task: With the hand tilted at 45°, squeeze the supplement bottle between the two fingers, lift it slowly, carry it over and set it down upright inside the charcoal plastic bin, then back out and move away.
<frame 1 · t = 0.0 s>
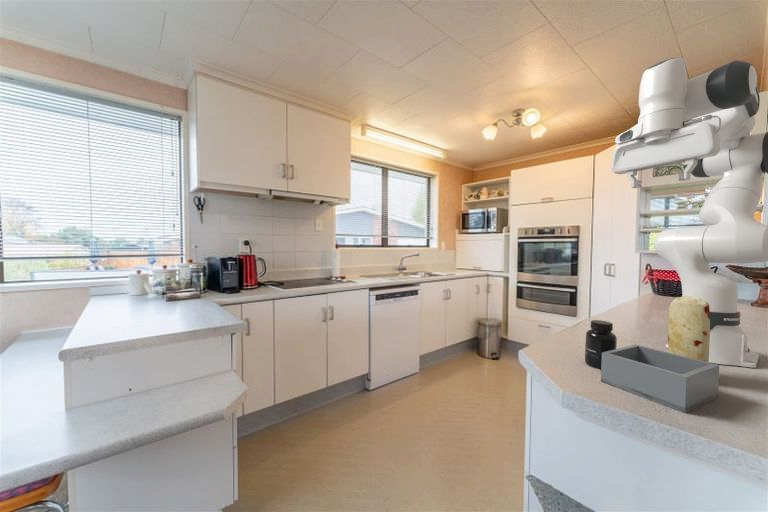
hand: (659, 184, 75), 48 cm above the counter, tool pointing down, fingers open, 8 cm apart
bin: (656, 389, 68), on the counter
supplement bottle: (599, 366, 81), on the counter
food model: (686, 376, 75), on the counter
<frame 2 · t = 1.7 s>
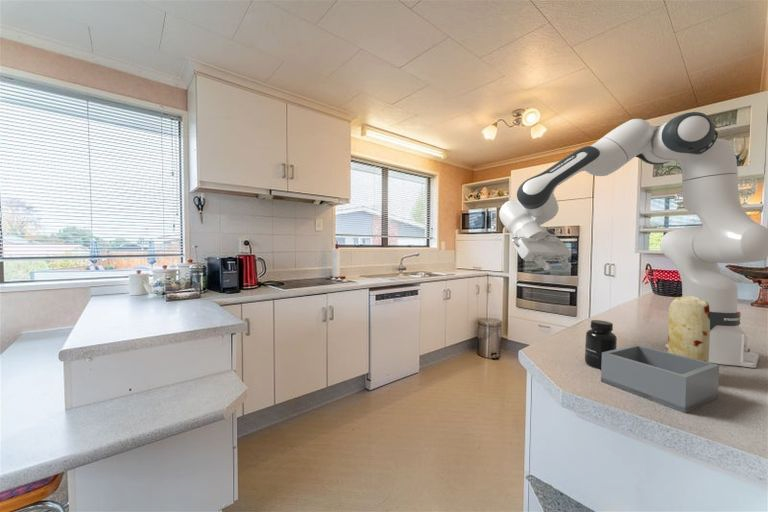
hand: (559, 268, 92), 26 cm above the counter, tool tilted 45°, fingers open, 8 cm apart
nothing on the counter moved.
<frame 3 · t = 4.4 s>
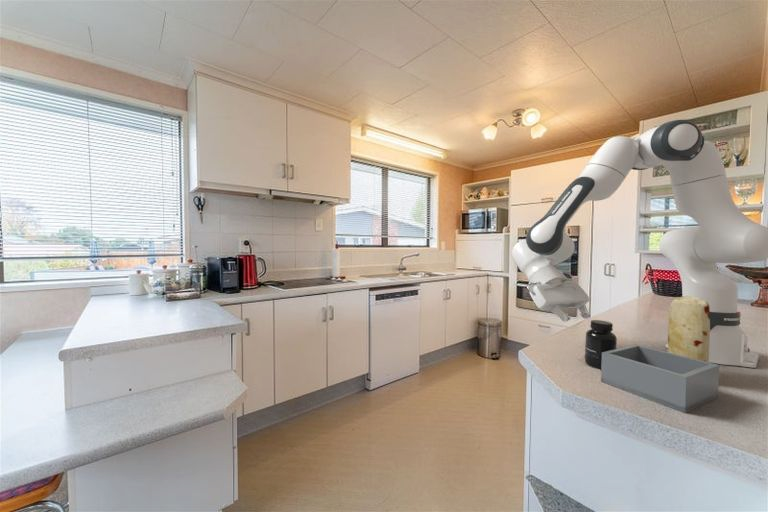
hand: (577, 318, 87), 11 cm above the counter, tool tilted 45°, fingers open, 8 cm apart
nothing on the counter moved.
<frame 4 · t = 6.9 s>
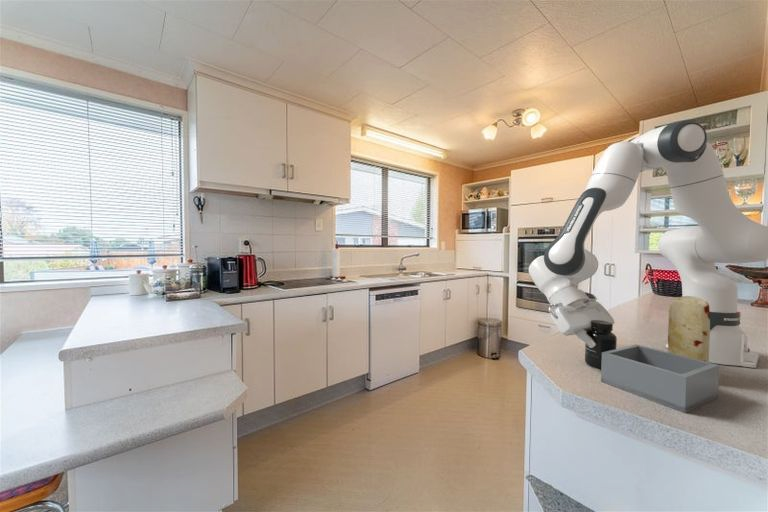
hand: (603, 344, 80), 6 cm above the counter, tool tilted 45°, fingers closed on supplement bottle, 7 cm apart
supplement bottle: (599, 366, 81), on the counter, touching gripper
everything else where it was.
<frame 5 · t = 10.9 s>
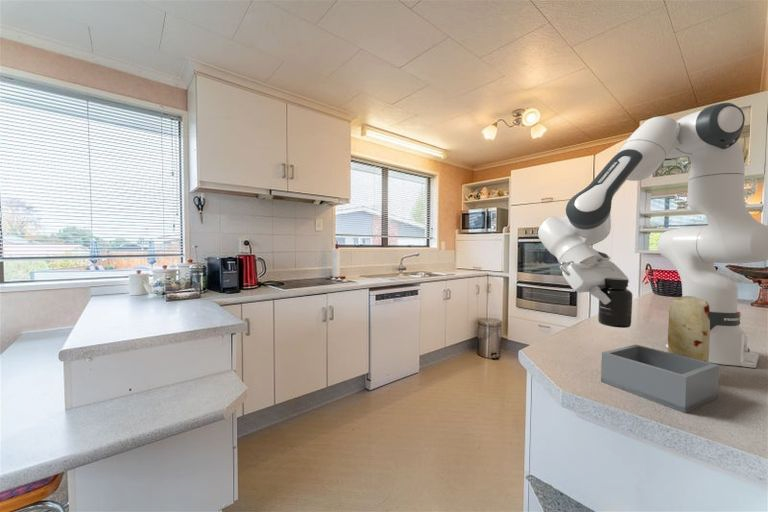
hand: (618, 301, 76), 18 cm above the counter, tool tilted 45°, fingers closed on supplement bottle, 7 cm apart
supplement bottle: (614, 325, 77), point 12 cm above the counter, touching gripper
everything else where it was.
when the fingers open (8 cm above the counter, at t = 14.8 s): supplement bottle stays where it is, resting on bin.
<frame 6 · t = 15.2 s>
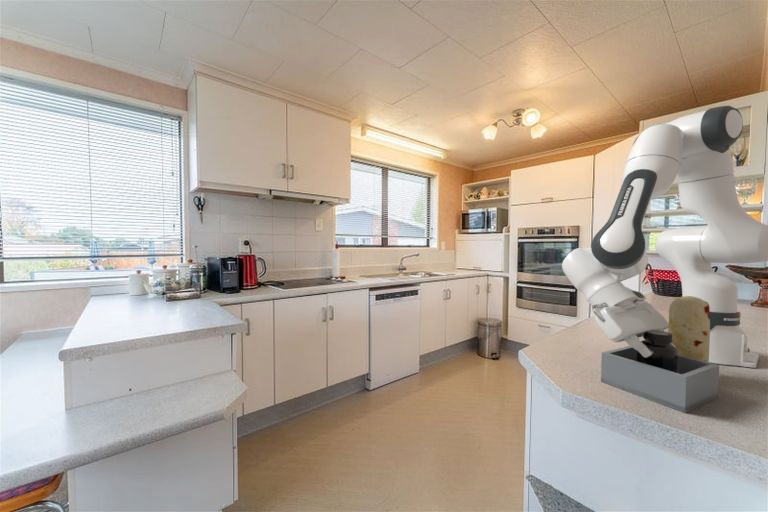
hand: (661, 352, 67), 8 cm above the counter, tool tilted 45°, fingers open, 8 cm apart
supplement bottle: (655, 384, 68), point 1 cm above the counter, touching bin
everything else where it was.
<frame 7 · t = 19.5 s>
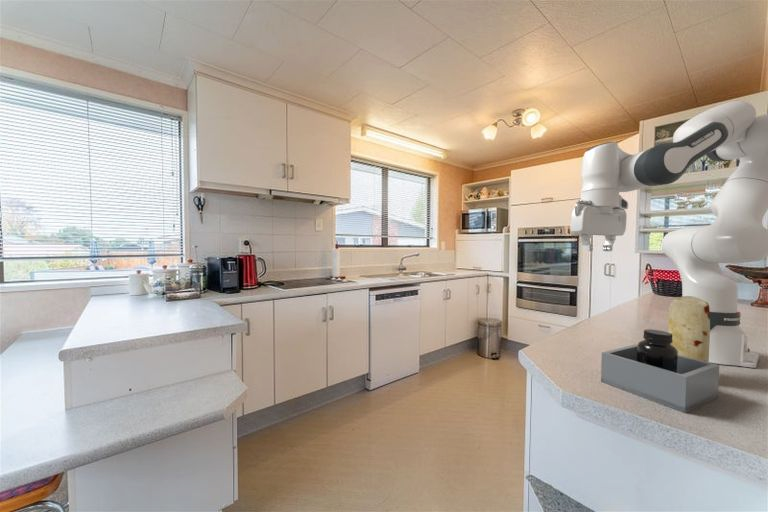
hand: (597, 251, 84), 31 cm above the counter, tool pointing down, fingers open, 8 cm apart
nothing on the counter moved.
at the end: supplement bottle inside the target area on the bin (0.2 cm from its centre), point 0.8 cm above the bin's base; supplement bottle tilted 0°; the gripper is holding nothing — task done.
